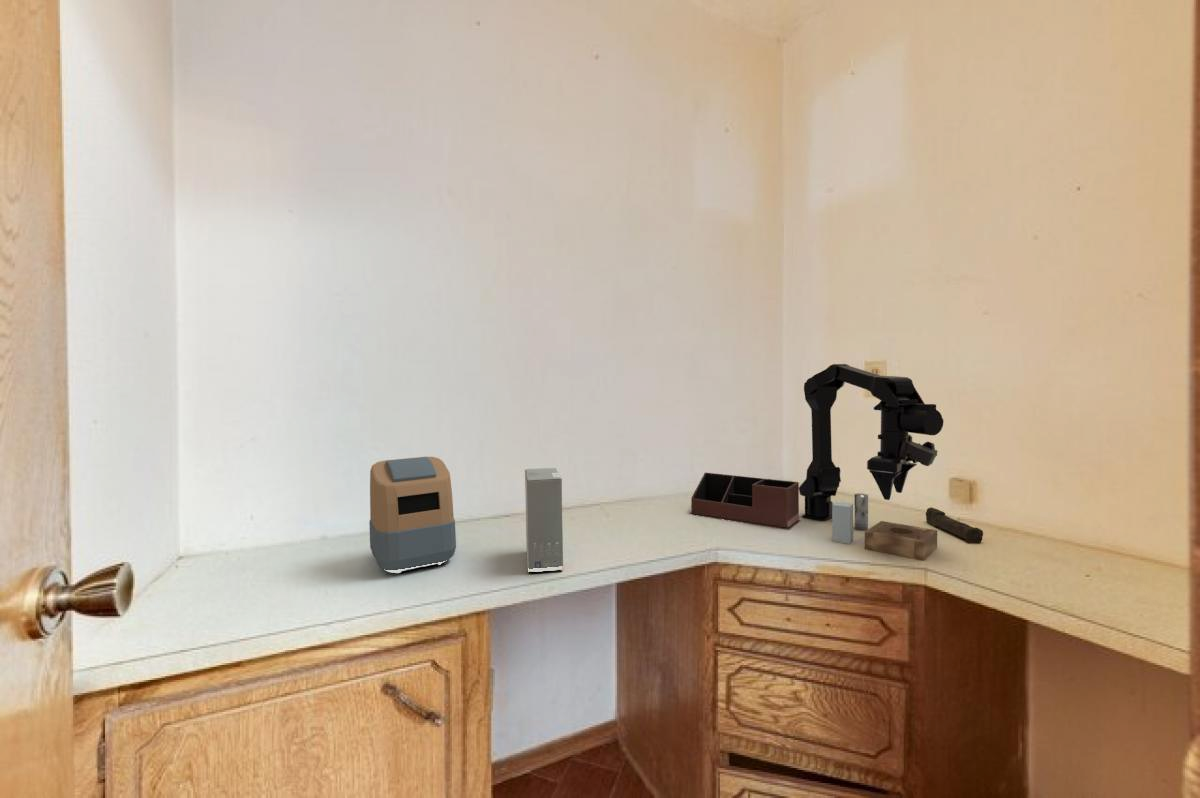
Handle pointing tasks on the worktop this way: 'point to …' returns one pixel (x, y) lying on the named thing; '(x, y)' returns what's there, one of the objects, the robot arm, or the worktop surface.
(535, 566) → the hard drive box
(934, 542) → the bore block
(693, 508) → the desk organizer
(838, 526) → the gray rectangular block
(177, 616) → the worktop surface
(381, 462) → the alarm clock
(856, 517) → the cylinder
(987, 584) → the worktop surface
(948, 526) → the hand tool
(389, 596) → the worktop surface
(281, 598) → the worktop surface
